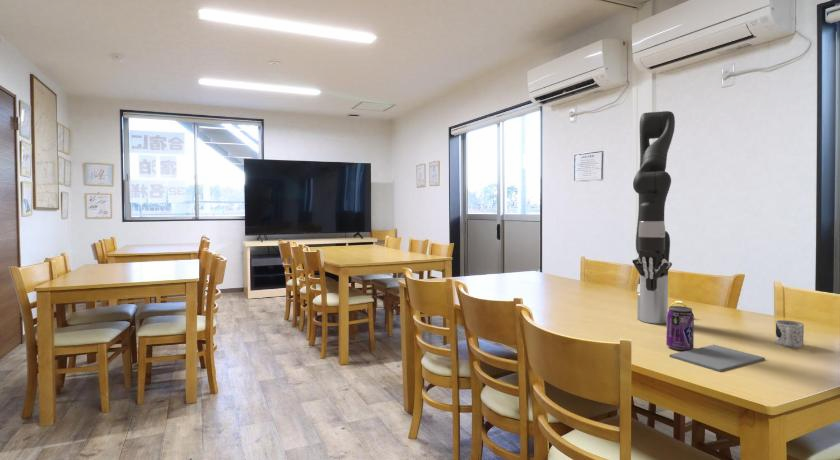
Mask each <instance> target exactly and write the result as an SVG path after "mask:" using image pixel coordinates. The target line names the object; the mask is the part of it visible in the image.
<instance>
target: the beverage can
mask: <svg viewBox="0 0 840 460" xmlns="http://www.w3.org/2000/svg"><path fill="white" fill-rule="evenodd" d="M694 319H695V315H694V313H693V308H691V307H689V306H687V307H685V306H684V305H682V306H681V305H672V306H671V305H670V306H668V312H667V323H666V337H665V338H666V342H665V343H666V346H668V347H669V348H671V349H672V350H677V351H688V350H692V349H694V346H695V345H694V344H695V343H694V331H695V330H694V329H695V328H694V326H695V325H694V324H695V323H694V322H695V321H694Z"/></svg>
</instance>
